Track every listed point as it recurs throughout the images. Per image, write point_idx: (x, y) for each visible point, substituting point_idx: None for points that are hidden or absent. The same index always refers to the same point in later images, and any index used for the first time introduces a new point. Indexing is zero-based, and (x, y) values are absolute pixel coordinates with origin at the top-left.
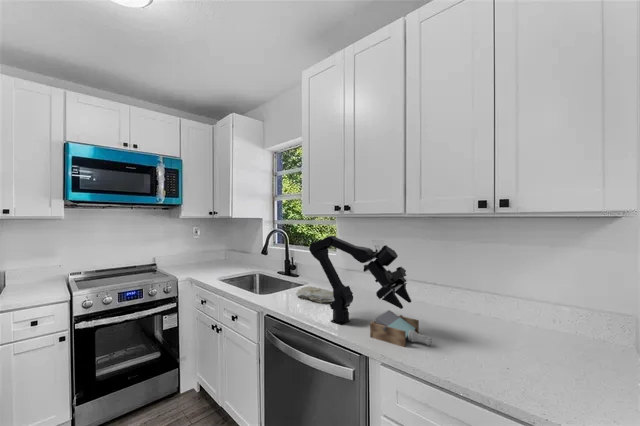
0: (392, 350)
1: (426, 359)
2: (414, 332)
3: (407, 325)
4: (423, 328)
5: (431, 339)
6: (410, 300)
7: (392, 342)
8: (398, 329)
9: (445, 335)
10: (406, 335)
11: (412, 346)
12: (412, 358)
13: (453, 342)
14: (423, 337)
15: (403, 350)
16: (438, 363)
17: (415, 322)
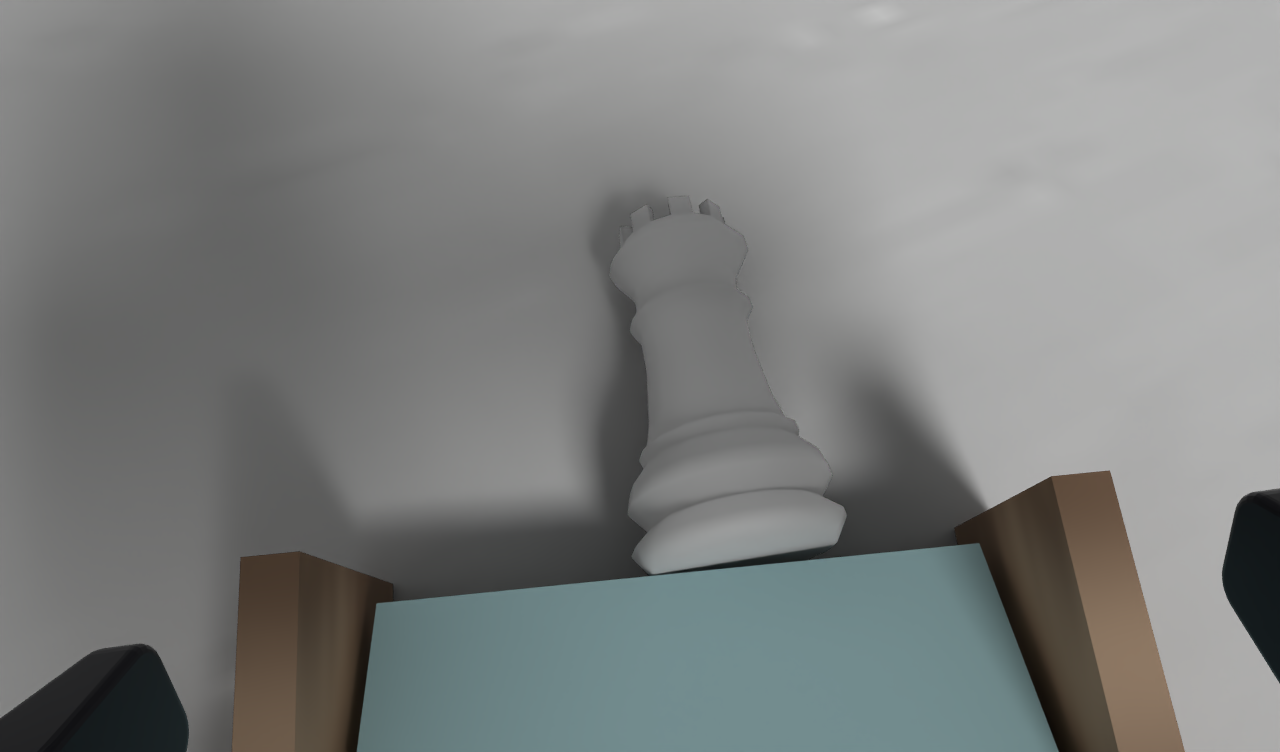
0: None
1: (1075, 155)
2: (752, 437)
3: (475, 737)
4: (47, 633)
5: (621, 232)
6: (126, 674)
7: None
8: (1100, 637)
9: (154, 254)
10: (843, 567)
11: (877, 445)
12: (1204, 284)
13: (340, 102)
14: (728, 296)
15: None
16: (1047, 31)
17: (316, 610)
